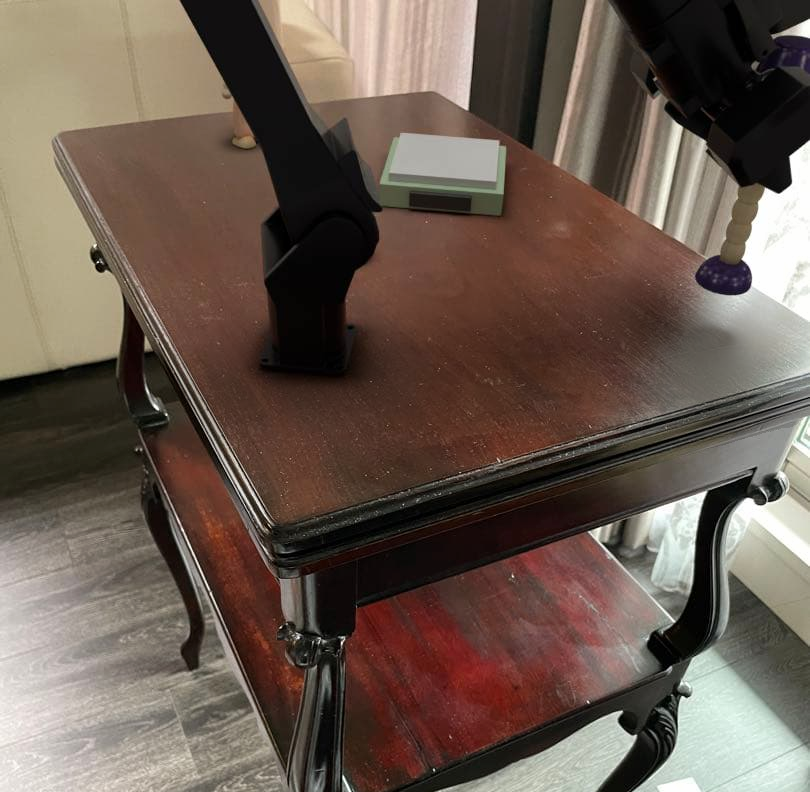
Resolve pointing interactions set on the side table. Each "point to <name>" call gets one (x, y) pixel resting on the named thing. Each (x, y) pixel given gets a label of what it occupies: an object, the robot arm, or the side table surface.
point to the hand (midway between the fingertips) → (771, 176)
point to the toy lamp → (748, 194)
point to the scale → (444, 174)
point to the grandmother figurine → (240, 125)
